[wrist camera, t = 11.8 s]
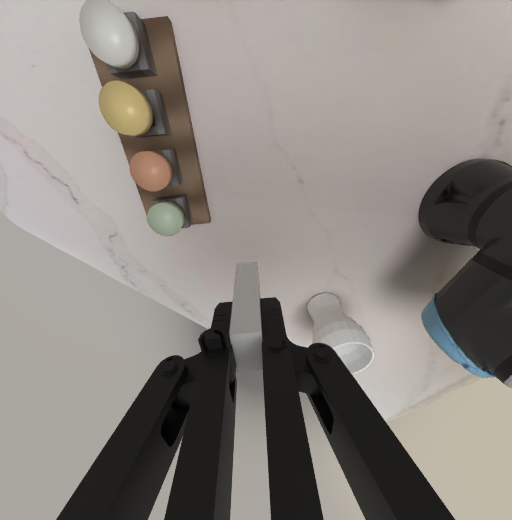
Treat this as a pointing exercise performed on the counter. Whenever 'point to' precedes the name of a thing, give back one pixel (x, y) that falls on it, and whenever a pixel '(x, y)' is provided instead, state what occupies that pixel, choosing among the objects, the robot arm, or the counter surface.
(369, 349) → the cup
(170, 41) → the panel
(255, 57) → the counter surface
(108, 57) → the grey button
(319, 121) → the counter surface
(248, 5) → the counter surface
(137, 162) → the terracotta button
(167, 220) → the sage button
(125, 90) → the ochre button
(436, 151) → the counter surface
